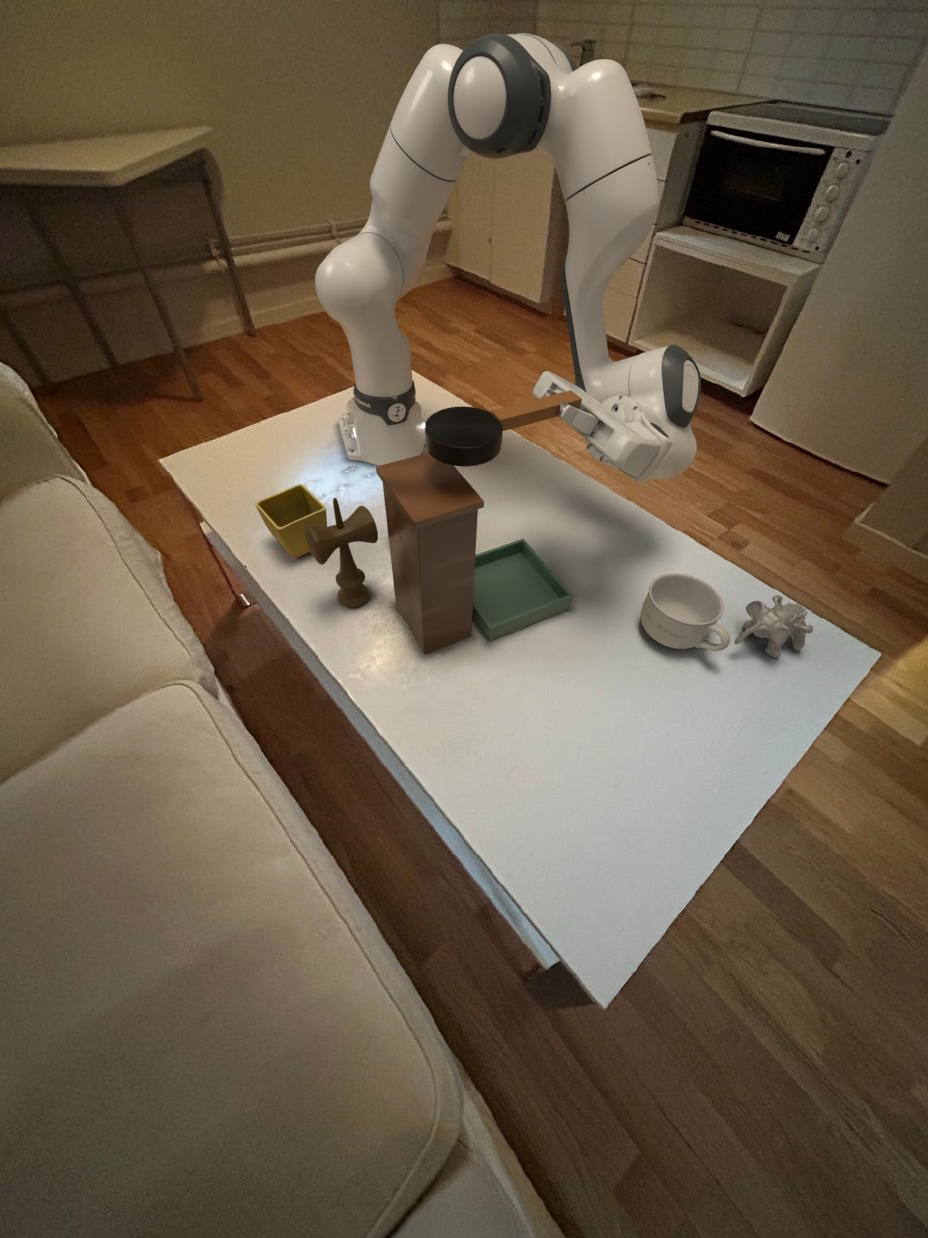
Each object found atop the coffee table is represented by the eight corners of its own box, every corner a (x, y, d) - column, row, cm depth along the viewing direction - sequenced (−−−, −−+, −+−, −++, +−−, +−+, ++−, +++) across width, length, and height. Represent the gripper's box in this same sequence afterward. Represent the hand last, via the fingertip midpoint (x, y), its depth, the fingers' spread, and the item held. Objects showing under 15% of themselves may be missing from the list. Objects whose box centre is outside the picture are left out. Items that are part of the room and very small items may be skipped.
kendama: (319, 597, 88) (292, 497, 73) (372, 575, 92) (357, 475, 76) (334, 621, 85) (309, 522, 70) (389, 598, 88) (376, 498, 73)
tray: (445, 578, 92) (445, 564, 89) (521, 551, 96) (523, 538, 94) (488, 641, 83) (489, 628, 81) (570, 608, 88) (573, 595, 85)
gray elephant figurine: (807, 642, 84) (833, 610, 79) (770, 685, 79) (796, 654, 73) (752, 609, 89) (773, 576, 83) (713, 647, 83) (733, 615, 77)
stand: (391, 604, 87) (375, 466, 68) (441, 586, 90) (440, 449, 70) (422, 658, 81) (414, 522, 61) (475, 637, 83) (484, 500, 64)
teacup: (622, 615, 87) (635, 580, 81) (678, 598, 90) (695, 563, 84) (672, 683, 79) (691, 650, 73) (733, 662, 82) (756, 629, 75)
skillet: (413, 434, 65) (412, 413, 63) (553, 399, 71) (556, 378, 69) (446, 474, 60) (446, 452, 58) (593, 432, 66) (598, 411, 64)
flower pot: (290, 570, 92) (278, 529, 85) (267, 543, 96) (253, 502, 89) (335, 548, 96) (327, 507, 89) (311, 523, 100) (301, 482, 93)
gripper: (587, 377, 79) (522, 343, 70) (683, 448, 68) (620, 418, 59) (563, 417, 82) (498, 389, 73) (651, 490, 71) (586, 468, 62)
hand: (553, 402), depth 66 cm, fingers closed on skillet, 2 cm apart
